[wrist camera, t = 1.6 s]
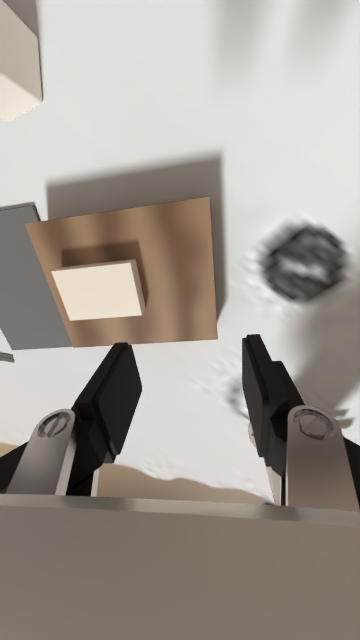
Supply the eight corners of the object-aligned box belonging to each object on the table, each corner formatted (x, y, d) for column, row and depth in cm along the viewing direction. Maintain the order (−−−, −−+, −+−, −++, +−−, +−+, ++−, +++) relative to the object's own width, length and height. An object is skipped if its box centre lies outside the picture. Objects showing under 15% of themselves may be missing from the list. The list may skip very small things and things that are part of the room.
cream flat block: (135, 259, 24) (130, 262, 22) (145, 308, 27) (141, 315, 25) (61, 267, 25) (51, 271, 24) (78, 313, 28) (69, 320, 26)
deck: (208, 198, 24) (209, 196, 21) (216, 324, 31) (217, 339, 28) (48, 222, 27) (24, 223, 24) (87, 333, 34) (73, 347, 30)
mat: (34, 205, 26) (32, 205, 26) (85, 344, 35) (83, 345, 35) (-55, 220, 28) (-59, 220, 28) (14, 348, 37) (12, 350, 36)
